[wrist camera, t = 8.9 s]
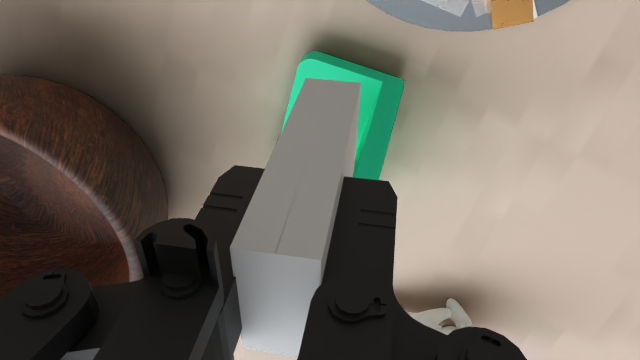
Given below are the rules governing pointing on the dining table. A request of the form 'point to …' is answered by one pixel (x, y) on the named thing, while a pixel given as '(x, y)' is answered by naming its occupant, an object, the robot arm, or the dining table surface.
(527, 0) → the ring nut
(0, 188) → the wooden bowl
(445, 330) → the white animal figurine
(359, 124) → the camera mount
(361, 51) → the dining table surface
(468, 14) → the base plate
